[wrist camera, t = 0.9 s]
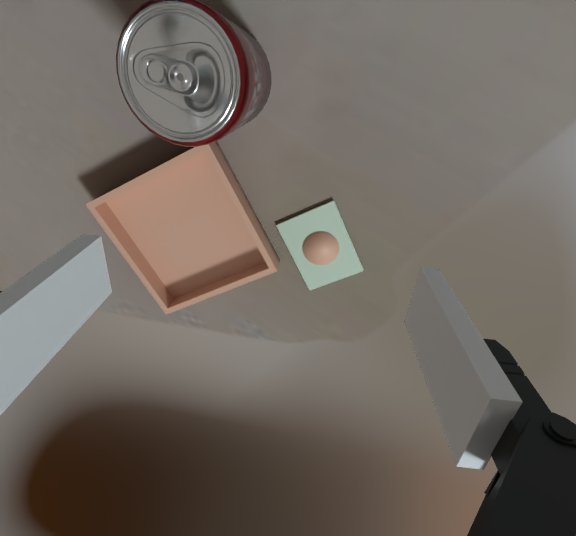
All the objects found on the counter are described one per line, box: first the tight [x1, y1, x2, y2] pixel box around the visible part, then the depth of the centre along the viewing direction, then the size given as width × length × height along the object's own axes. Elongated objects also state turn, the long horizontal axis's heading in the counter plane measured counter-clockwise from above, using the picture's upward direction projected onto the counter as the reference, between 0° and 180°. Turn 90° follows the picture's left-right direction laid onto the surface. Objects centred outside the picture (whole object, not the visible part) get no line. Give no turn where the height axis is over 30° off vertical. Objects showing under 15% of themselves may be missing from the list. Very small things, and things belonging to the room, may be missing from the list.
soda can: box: [116, 0, 271, 147], centre depth 24 cm, size 7×7×12 cm
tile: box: [276, 200, 364, 290], centre depth 36 cm, size 8×6×1 cm
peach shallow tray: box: [85, 141, 280, 314], centre depth 35 cm, size 13×13×2 cm
